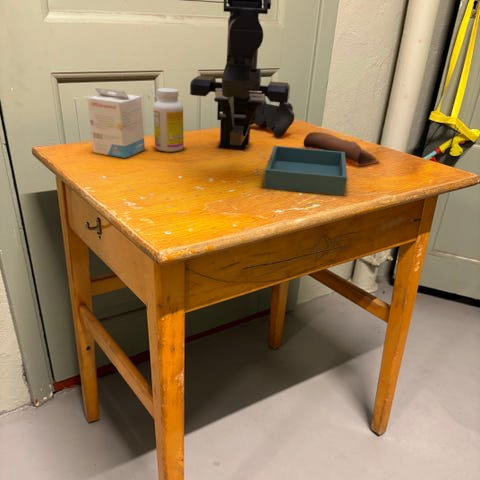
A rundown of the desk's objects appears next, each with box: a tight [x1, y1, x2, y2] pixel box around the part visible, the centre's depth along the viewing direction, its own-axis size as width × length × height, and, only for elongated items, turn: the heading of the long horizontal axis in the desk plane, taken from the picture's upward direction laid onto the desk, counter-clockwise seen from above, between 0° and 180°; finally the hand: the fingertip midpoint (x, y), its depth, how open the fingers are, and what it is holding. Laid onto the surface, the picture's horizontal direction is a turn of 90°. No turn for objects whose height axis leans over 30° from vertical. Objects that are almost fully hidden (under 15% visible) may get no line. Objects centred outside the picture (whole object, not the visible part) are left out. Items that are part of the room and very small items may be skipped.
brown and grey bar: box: [230, 126, 247, 146], centre depth 106 cm, size 12×2×2 cm, turn 172°
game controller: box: [250, 99, 295, 139], centre depth 140 cm, size 16×7×10 cm, turn 52°
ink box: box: [87, 87, 146, 159], centre depth 114 cm, size 9×8×13 cm
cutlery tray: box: [263, 145, 348, 197], centre depth 108 cm, size 16×19×4 cm
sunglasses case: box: [303, 131, 379, 167], centre depth 124 cm, size 18×7×7 cm
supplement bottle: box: [152, 87, 185, 153], centre depth 119 cm, size 7×7×13 cm
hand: (238, 135), depth 105 cm, fingers closed on brown and grey bar, 2 cm apart
